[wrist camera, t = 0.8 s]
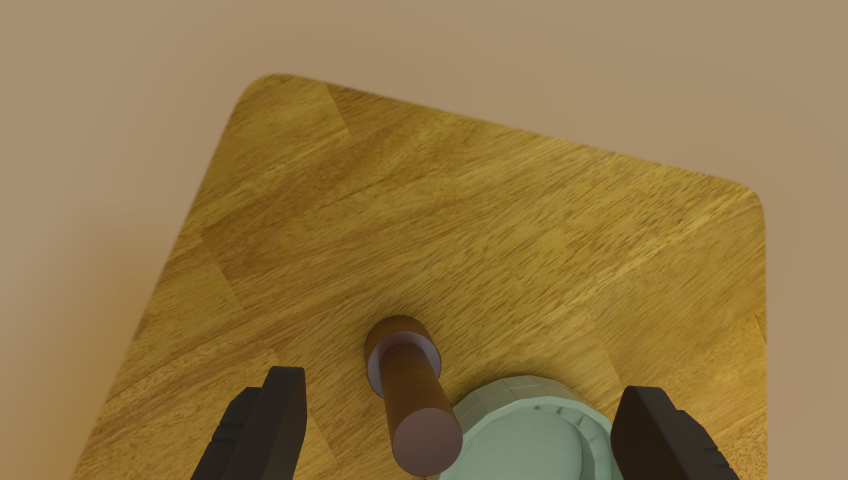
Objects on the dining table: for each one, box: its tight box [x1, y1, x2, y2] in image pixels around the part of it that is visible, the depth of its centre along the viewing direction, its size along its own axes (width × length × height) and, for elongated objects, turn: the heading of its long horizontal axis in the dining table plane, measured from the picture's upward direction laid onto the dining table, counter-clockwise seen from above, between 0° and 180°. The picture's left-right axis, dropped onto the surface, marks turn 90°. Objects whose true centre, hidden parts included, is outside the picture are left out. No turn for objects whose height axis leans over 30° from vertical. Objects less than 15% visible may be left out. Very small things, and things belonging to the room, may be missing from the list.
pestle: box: [365, 315, 463, 477], centre depth 27 cm, size 5×5×13 cm
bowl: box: [425, 375, 624, 480], centre depth 33 cm, size 14×14×4 cm
